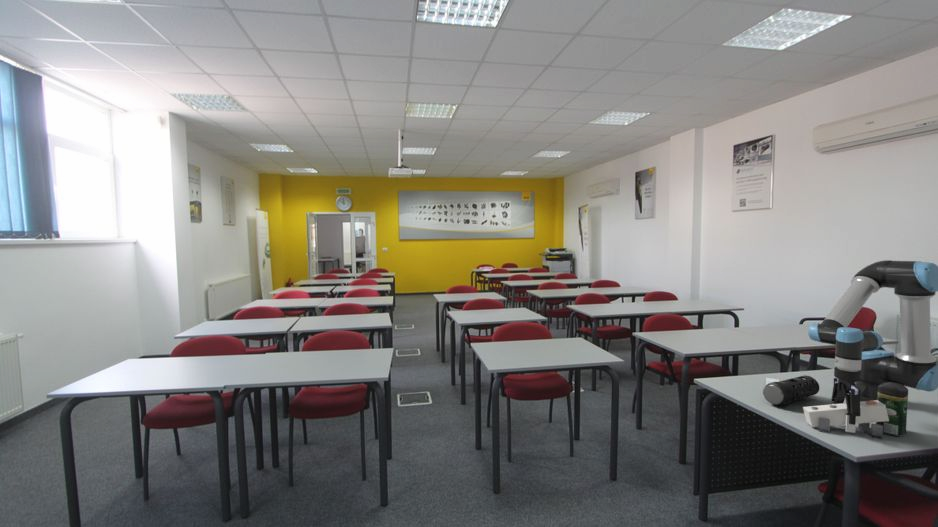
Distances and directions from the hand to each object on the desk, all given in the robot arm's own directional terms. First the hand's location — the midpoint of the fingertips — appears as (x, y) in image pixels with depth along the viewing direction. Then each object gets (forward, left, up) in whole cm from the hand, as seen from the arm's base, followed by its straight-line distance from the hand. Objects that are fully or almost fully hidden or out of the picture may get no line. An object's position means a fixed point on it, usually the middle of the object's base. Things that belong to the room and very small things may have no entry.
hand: (844, 426), depth 161 cm
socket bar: (-1, 0, +2) cm, 2 cm away
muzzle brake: (+8, -27, -2) cm, 28 cm away
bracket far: (+8, 0, -1) cm, 8 cm away
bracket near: (-8, 0, -1) cm, 8 cm away
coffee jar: (-16, -4, -1) cm, 17 cm away
